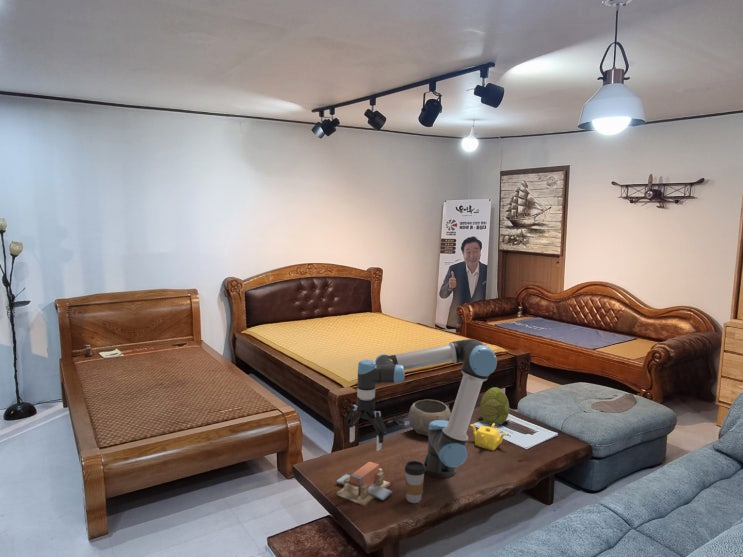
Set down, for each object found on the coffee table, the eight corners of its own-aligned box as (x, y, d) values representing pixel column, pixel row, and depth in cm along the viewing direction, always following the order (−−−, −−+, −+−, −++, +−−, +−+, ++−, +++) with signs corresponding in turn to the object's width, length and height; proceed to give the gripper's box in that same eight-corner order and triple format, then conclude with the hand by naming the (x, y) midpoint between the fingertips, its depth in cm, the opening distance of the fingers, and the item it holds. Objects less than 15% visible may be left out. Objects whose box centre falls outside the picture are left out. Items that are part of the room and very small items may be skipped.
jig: (399, 488, 224) (400, 475, 223) (374, 509, 207) (375, 495, 206) (354, 471, 237) (354, 459, 236) (327, 491, 220) (327, 477, 219)
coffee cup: (402, 493, 219) (403, 460, 217) (421, 493, 220) (423, 460, 218) (405, 505, 211) (406, 470, 209) (425, 504, 212) (426, 470, 210)
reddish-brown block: (378, 479, 227) (379, 464, 226) (359, 495, 214) (359, 479, 213) (369, 476, 229) (369, 461, 228) (349, 491, 217) (349, 475, 216)
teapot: (506, 450, 262) (507, 432, 261) (480, 452, 259) (481, 434, 258) (493, 437, 276) (494, 420, 275) (468, 440, 273) (469, 422, 272)
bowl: (405, 438, 273) (406, 411, 271) (409, 421, 295) (410, 395, 293) (450, 442, 269) (451, 415, 267) (450, 424, 292) (452, 399, 290)
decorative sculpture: (506, 428, 288) (508, 394, 285) (477, 423, 294) (479, 390, 291) (509, 418, 303) (512, 385, 301) (481, 413, 309) (483, 381, 306)
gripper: (396, 401, 213) (395, 449, 216) (347, 388, 226) (346, 434, 229) (387, 406, 206) (385, 456, 209) (337, 393, 220) (336, 440, 223)
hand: (365, 445), depth 219 cm, fingers open, 13 cm apart
